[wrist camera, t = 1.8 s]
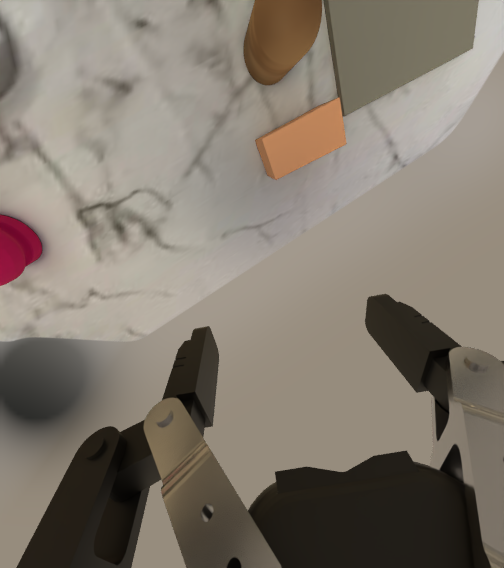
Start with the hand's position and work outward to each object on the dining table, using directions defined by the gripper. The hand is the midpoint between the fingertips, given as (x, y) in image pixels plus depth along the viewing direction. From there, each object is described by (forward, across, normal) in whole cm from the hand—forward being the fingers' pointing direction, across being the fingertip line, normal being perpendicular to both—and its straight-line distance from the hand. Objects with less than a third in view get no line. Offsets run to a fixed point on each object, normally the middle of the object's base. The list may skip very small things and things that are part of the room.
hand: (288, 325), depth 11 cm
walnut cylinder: (+20, -4, -16) cm, 27 cm away
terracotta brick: (+21, -6, -9) cm, 24 cm away
